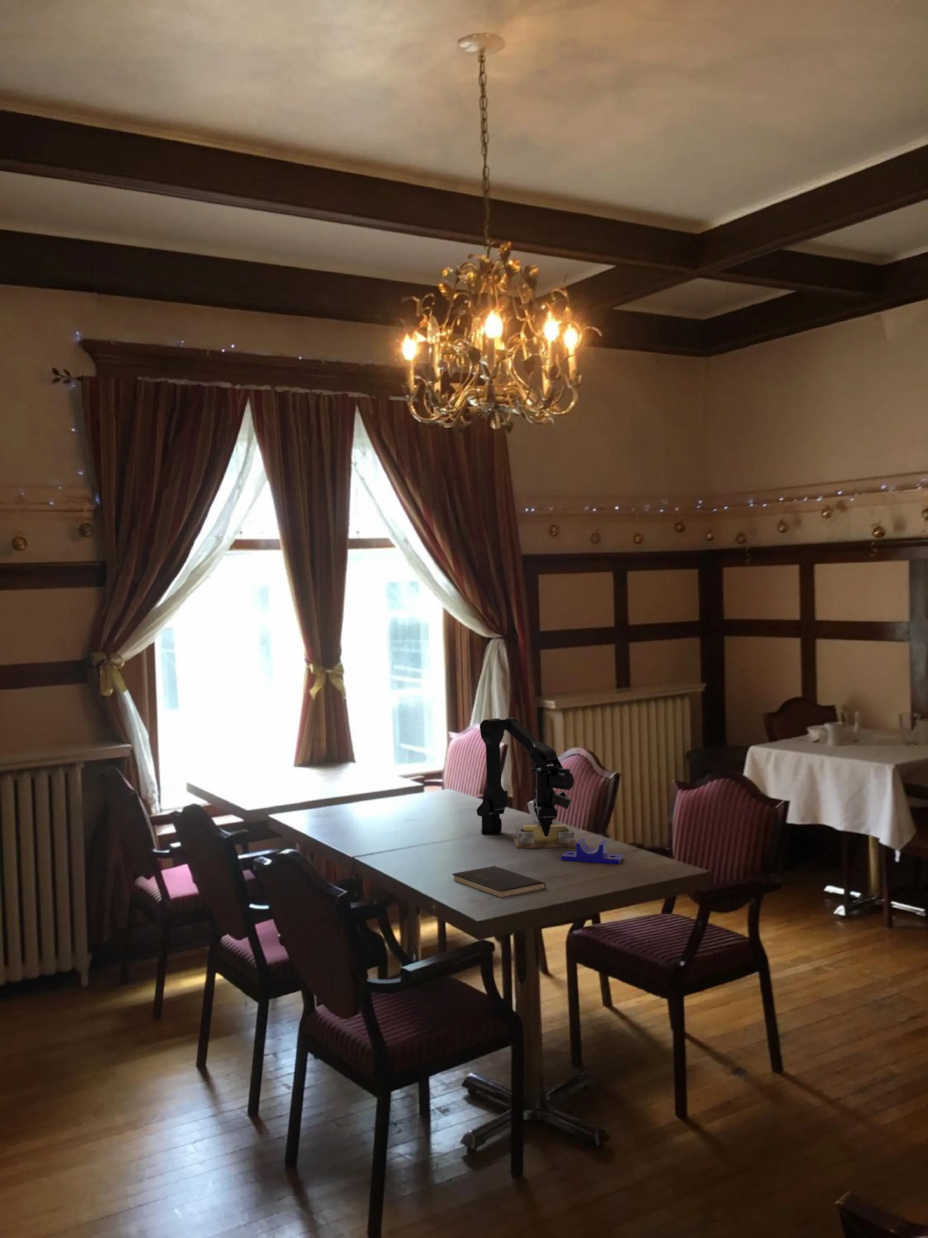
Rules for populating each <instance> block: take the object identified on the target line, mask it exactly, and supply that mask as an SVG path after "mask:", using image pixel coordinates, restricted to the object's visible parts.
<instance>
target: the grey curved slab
mask: <svg viewBox="0 0 928 1238" xmlns="http://www.w3.org/2000/svg"><path fill="white" fill-rule="evenodd" d="M527 808H528V812H529V814H530V818H531V820H532V819H533V820H532V821H533V822H535V821H536V822H535V823H537V822H538V823H537V824H539V821H538V819H537V816H536V813H535V811H534V807H533V800H530V801H529V802H527ZM535 808H536V807H535ZM553 824H560V823H559V822H558V821H556V820H555V819H554V820H553V821H552V822H551V825H553Z"/></svg>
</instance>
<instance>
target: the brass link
mask: <svg viewBox="0 0 928 1238" xmlns="http://www.w3.org/2000/svg"><path fill="white" fill-rule="evenodd" d="M567 827H568V826H567V825H566V824H565V823H564V824H560V823H559V824H553V825H551V826H550V830H549V834H548V836H545V835H544V833H543V830H542V827H541V825H540V824H523V827H522V828H523V832H534V842H558V832H567Z"/></svg>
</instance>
